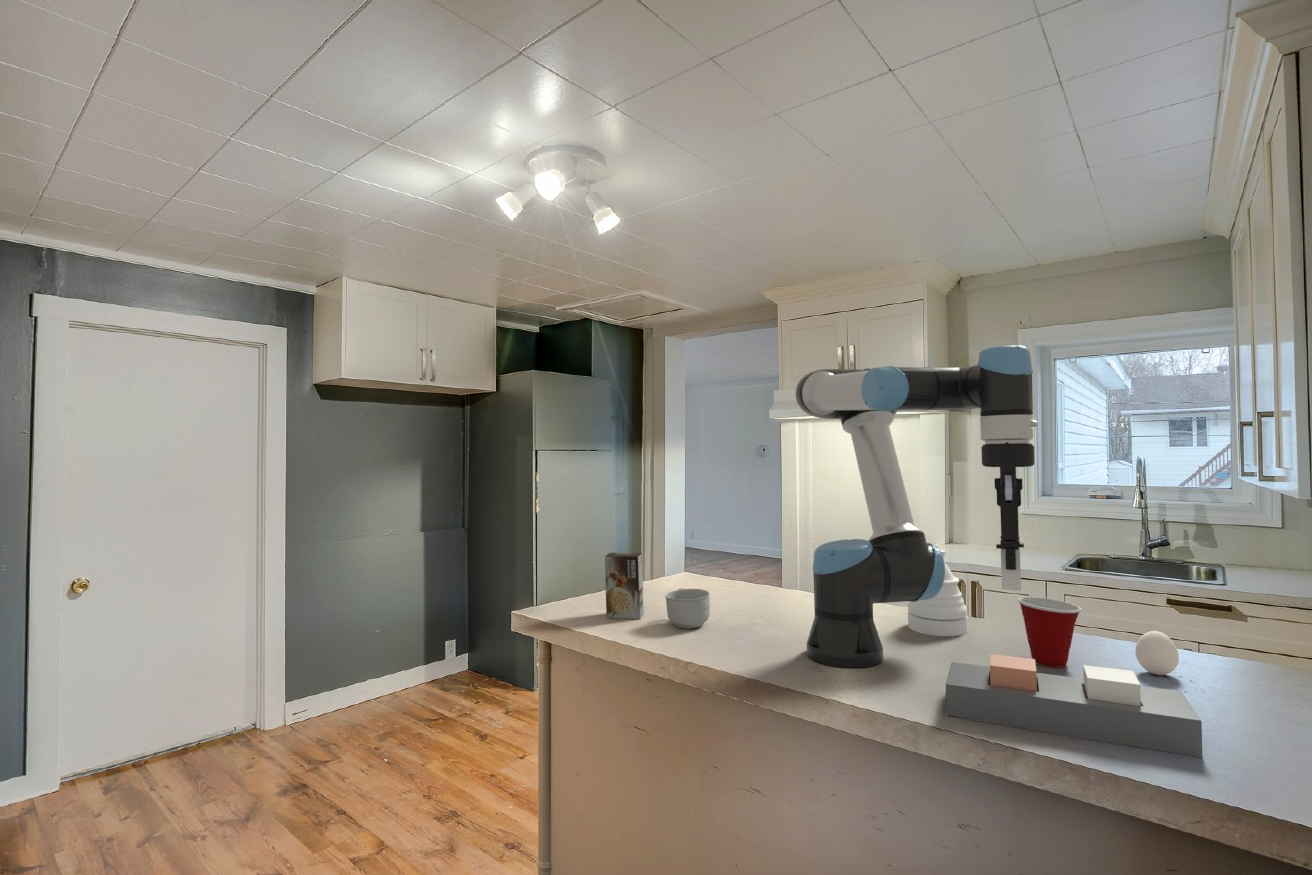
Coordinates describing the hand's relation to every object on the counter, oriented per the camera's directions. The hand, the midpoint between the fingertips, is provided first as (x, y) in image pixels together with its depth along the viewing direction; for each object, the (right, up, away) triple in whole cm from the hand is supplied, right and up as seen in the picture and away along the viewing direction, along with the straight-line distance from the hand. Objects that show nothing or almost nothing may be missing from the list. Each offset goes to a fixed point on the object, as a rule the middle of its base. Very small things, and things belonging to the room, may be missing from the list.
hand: (1011, 588), depth 105 cm
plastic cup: (+20, -20, +23) cm, 37 cm away
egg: (+36, -20, +16) cm, 44 cm away
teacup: (-49, -22, +56) cm, 78 cm away
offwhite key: (+12, -16, -6) cm, 20 cm away
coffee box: (-65, -22, +65) cm, 94 cm away
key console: (+6, -20, -3) cm, 21 cm away
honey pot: (+9, -21, +49) cm, 54 cm away
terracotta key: (0, -16, 0) cm, 16 cm away
